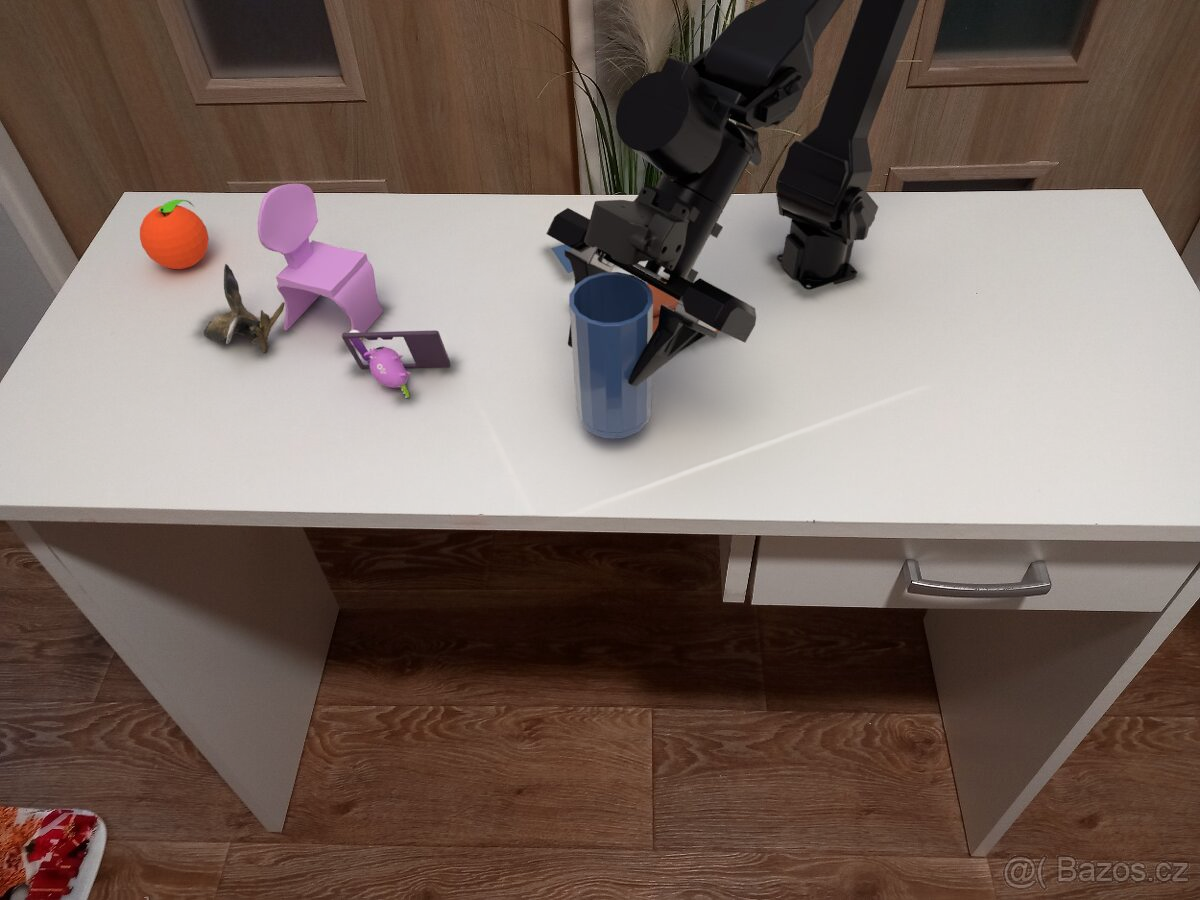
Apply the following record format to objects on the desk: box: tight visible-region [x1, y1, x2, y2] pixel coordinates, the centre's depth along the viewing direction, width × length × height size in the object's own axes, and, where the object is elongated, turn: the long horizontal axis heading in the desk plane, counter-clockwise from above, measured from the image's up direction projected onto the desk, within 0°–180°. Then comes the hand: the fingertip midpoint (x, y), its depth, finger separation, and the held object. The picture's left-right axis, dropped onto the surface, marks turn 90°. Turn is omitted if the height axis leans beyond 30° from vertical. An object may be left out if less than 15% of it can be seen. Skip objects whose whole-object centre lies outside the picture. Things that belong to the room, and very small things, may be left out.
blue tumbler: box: [568, 271, 653, 439], centre depth 76 cm, size 7×7×13 cm
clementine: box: [139, 199, 210, 270], centre depth 100 cm, size 8×7×7 cm
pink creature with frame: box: [341, 329, 451, 399], centre depth 86 cm, size 7×5×9 cm
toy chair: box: [257, 183, 384, 347], centre depth 89 cm, size 8×9×15 cm
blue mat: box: [551, 244, 573, 274], centre depth 101 cm, size 10×5×1 cm, turn 114°
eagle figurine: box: [203, 263, 286, 354], centre depth 92 cm, size 8×7×9 cm
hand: (601, 365), depth 75 cm, fingers closed on blue tumbler, 6 cm apart
